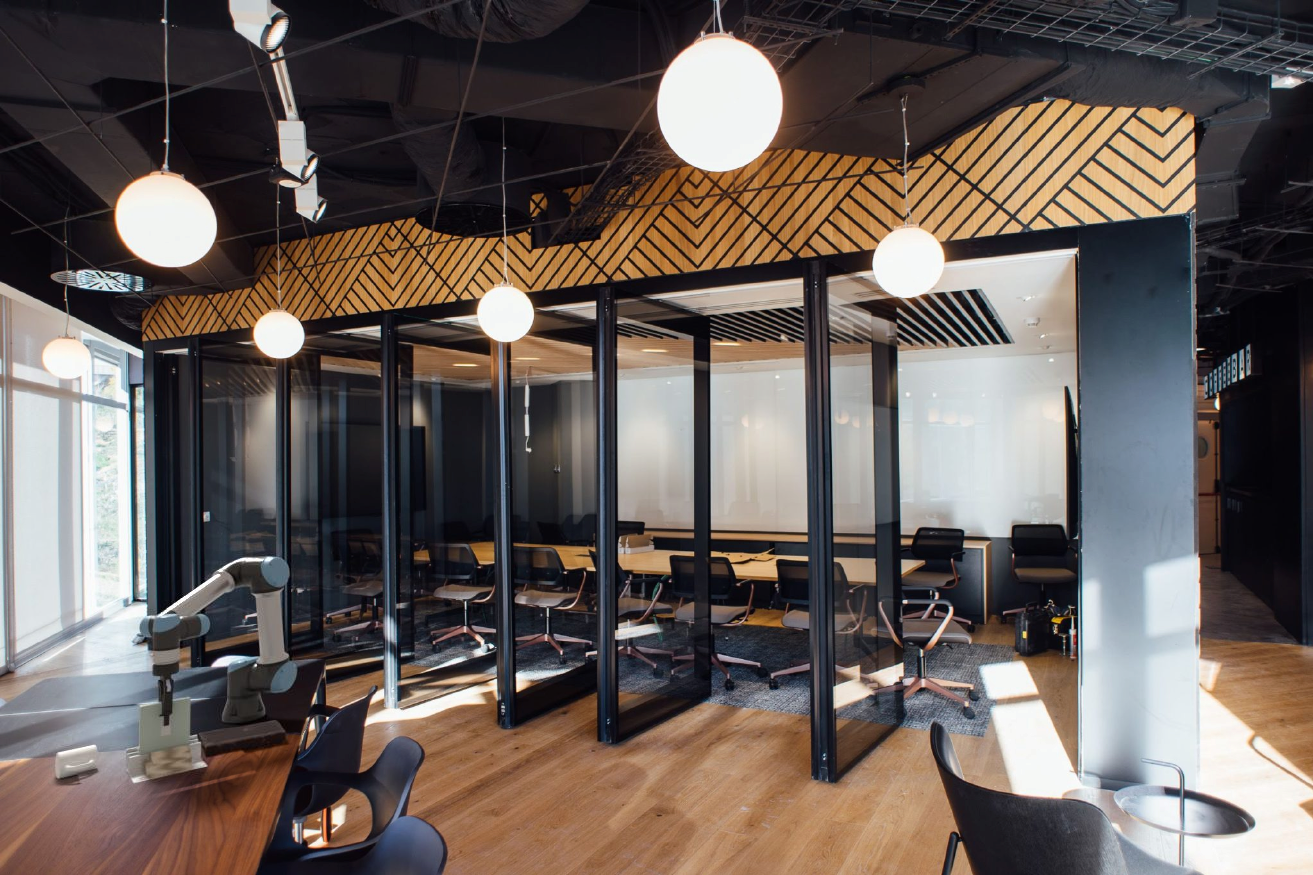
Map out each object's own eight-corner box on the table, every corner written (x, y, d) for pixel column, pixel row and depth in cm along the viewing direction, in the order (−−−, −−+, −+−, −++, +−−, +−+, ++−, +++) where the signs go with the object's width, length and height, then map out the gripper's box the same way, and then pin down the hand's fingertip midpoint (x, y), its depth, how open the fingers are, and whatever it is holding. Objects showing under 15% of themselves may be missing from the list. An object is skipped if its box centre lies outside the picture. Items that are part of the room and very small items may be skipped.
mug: (54, 775, 244) (55, 750, 245) (92, 766, 251) (93, 742, 252) (61, 784, 236) (62, 758, 236) (100, 775, 243) (101, 750, 243)
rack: (196, 755, 259) (196, 734, 260) (207, 769, 246) (207, 747, 246) (125, 770, 246) (126, 748, 247) (133, 786, 233) (133, 763, 233)
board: (188, 757, 255) (189, 696, 256) (189, 758, 253) (190, 698, 254) (138, 767, 246) (139, 705, 247) (139, 769, 244) (140, 706, 245)
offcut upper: (187, 754, 249) (187, 744, 249) (190, 758, 245) (190, 748, 245) (151, 762, 242) (151, 752, 243) (153, 766, 239) (153, 756, 239)
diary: (285, 744, 270) (286, 730, 271) (205, 761, 255) (205, 746, 255) (275, 731, 285) (275, 717, 285) (198, 746, 270) (198, 732, 270)
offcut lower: (188, 762, 249) (188, 753, 250) (191, 766, 246) (191, 757, 246) (145, 772, 241) (145, 763, 242) (147, 776, 238) (147, 767, 238)
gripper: (148, 660, 255) (147, 731, 253) (156, 667, 243) (155, 742, 242) (174, 656, 260) (173, 726, 258) (183, 663, 248) (182, 736, 247)
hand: (164, 733), depth 250 cm, fingers closed on board, 2 cm apart
